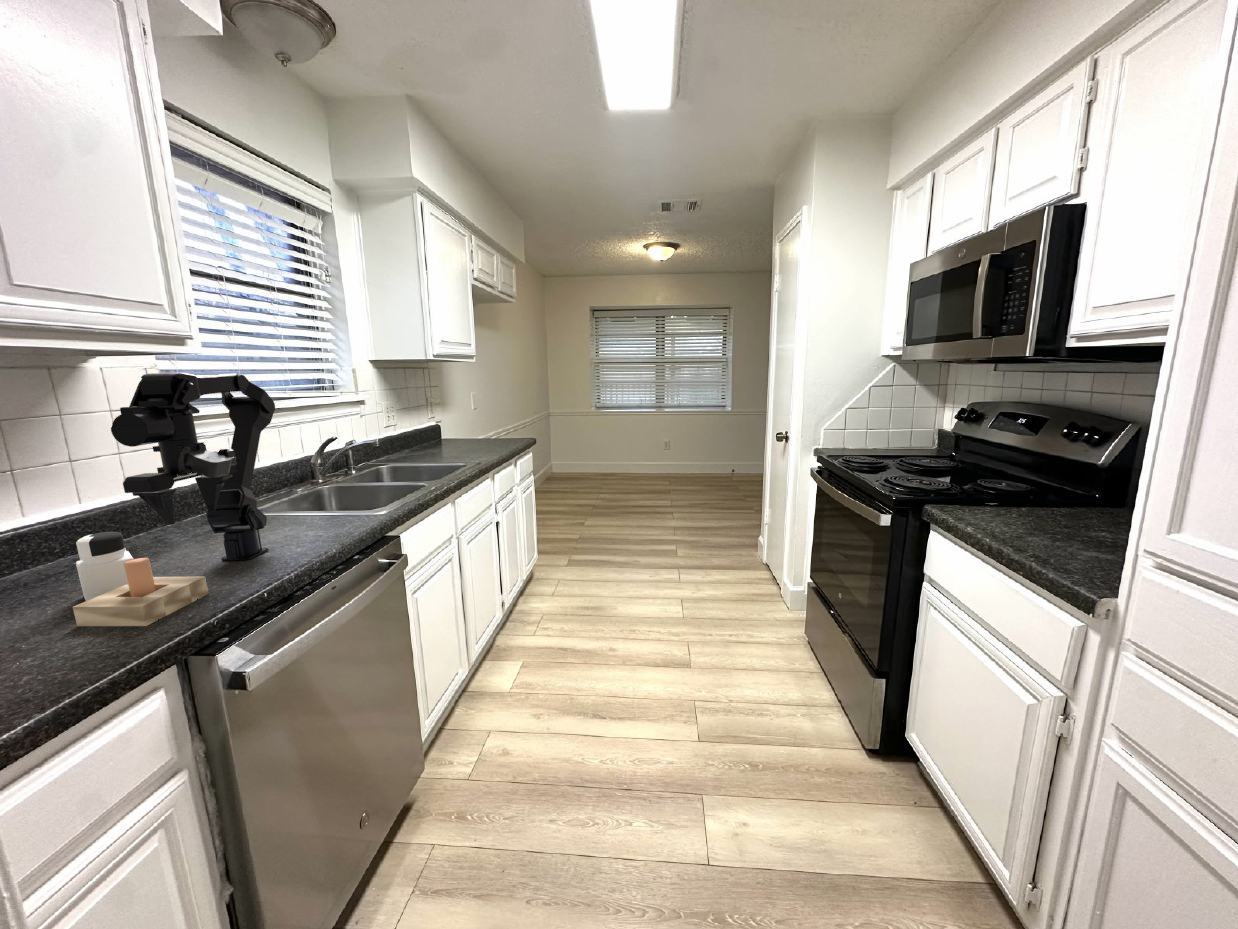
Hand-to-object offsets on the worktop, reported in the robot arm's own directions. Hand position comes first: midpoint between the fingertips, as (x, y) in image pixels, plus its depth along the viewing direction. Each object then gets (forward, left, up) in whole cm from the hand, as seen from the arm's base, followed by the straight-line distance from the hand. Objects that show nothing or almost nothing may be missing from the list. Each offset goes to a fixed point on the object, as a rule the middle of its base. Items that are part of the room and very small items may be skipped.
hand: (192, 517), depth 98 cm
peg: (+13, +1, -13) cm, 18 cm away
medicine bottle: (+7, -12, -13) cm, 19 cm away
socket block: (+13, +1, -13) cm, 18 cm away
